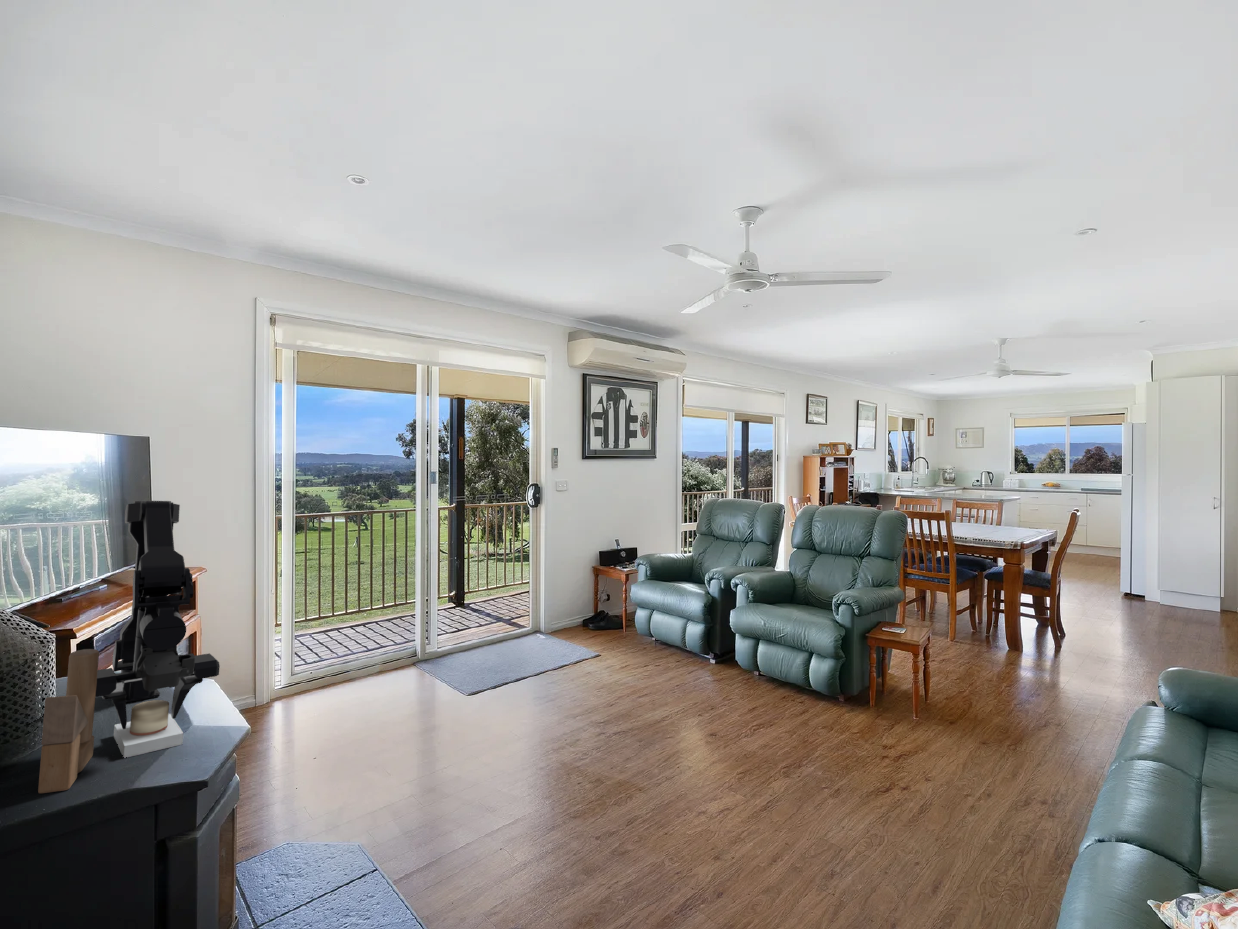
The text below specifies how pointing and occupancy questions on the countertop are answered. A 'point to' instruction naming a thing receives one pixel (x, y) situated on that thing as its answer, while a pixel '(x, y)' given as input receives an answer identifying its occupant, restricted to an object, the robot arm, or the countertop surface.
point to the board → (147, 739)
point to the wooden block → (69, 725)
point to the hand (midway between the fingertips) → (149, 723)
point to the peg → (149, 717)
